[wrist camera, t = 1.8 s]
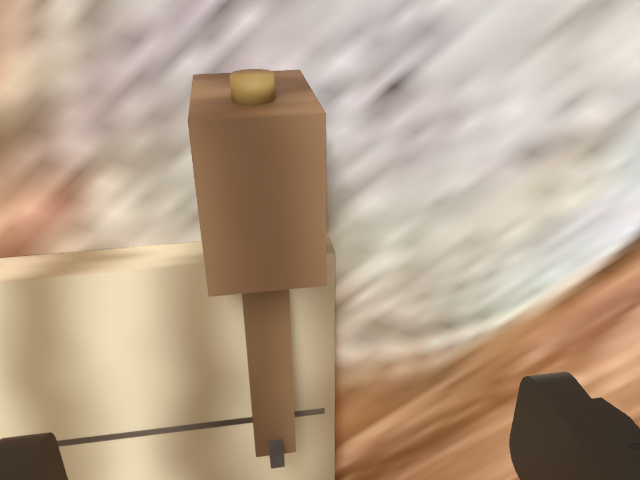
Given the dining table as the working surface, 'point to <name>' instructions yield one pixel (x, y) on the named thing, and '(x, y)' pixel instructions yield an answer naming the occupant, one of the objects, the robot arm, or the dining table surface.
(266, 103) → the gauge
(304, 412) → the board
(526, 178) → the dining table surface
